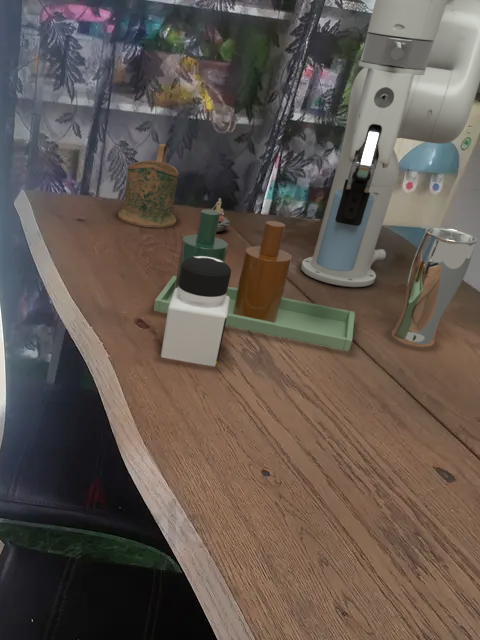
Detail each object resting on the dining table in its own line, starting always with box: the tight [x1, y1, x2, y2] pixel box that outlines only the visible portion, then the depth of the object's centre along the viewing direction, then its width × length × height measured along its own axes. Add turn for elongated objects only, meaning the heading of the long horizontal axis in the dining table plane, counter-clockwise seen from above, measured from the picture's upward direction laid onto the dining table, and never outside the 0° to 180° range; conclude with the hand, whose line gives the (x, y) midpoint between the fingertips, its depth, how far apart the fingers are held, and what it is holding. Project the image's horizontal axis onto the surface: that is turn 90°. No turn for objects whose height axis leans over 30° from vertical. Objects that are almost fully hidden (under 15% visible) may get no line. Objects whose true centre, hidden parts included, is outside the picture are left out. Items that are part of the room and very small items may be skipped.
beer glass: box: [391, 226, 478, 347], centre depth 102 cm, size 7×7×15 cm
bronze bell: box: [117, 143, 179, 228], centre depth 144 cm, size 12×18×12 cm, turn 167°
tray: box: [153, 275, 356, 352], centre depth 107 cm, size 28×12×2 cm, turn 72°
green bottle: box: [175, 208, 229, 289], centre depth 105 cm, size 6×6×13 cm
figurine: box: [211, 197, 231, 233], centre depth 140 cm, size 5×4×6 cm
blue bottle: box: [317, 181, 375, 271], centre depth 96 cm, size 5×5×12 cm
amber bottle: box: [233, 220, 293, 322], centre depth 103 cm, size 6×6×13 cm
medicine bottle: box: [160, 256, 232, 367], centre depth 92 cm, size 7×7×12 cm
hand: (348, 216), depth 96 cm, fingers closed on blue bottle, 5 cm apart
